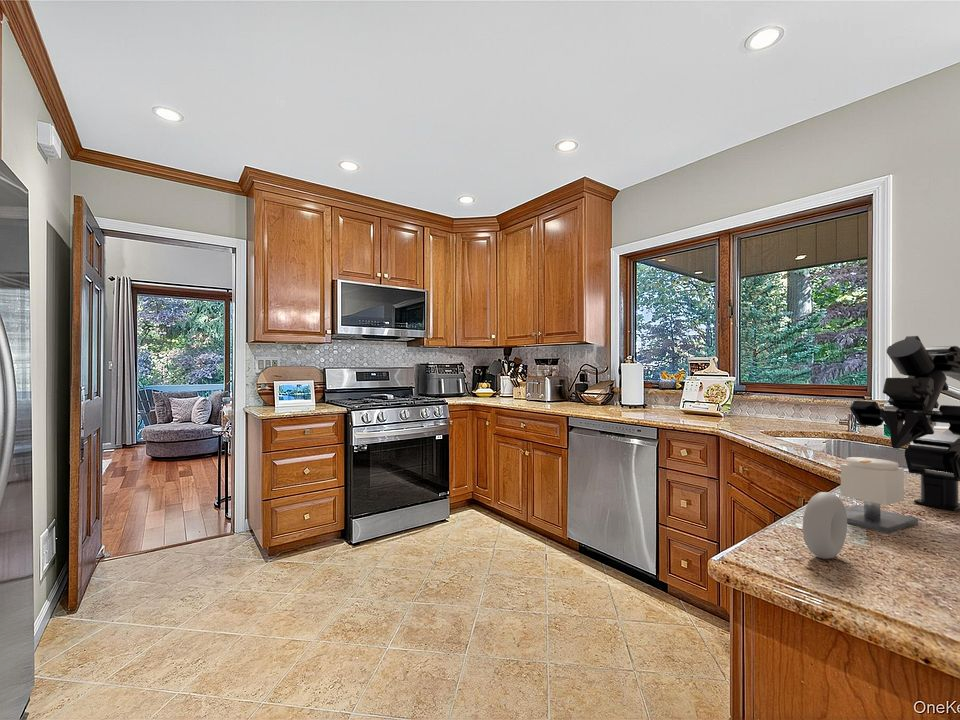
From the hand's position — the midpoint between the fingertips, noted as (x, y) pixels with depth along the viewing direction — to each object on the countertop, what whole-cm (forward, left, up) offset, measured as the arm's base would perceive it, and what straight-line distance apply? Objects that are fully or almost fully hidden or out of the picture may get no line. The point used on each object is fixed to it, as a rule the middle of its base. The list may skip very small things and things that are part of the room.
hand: (894, 447), depth 91 cm
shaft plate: (+9, 0, -14) cm, 16 cm away
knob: (+10, 0, -9) cm, 13 cm away
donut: (+37, +5, -14) cm, 39 cm away
